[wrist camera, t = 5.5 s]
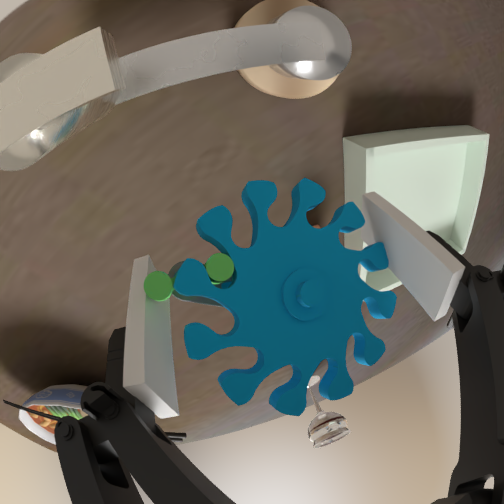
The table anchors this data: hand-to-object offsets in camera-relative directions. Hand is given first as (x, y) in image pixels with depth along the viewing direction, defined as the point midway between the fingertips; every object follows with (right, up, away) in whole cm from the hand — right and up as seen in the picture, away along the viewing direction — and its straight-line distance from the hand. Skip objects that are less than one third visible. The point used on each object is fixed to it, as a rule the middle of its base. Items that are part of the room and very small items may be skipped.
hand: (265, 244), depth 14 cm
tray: (+18, +6, +15) cm, 24 cm away
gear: (0, 0, +1) cm, 1 cm away
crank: (-4, +11, +1) cm, 12 cm away
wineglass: (+9, -24, +33) cm, 42 cm away
